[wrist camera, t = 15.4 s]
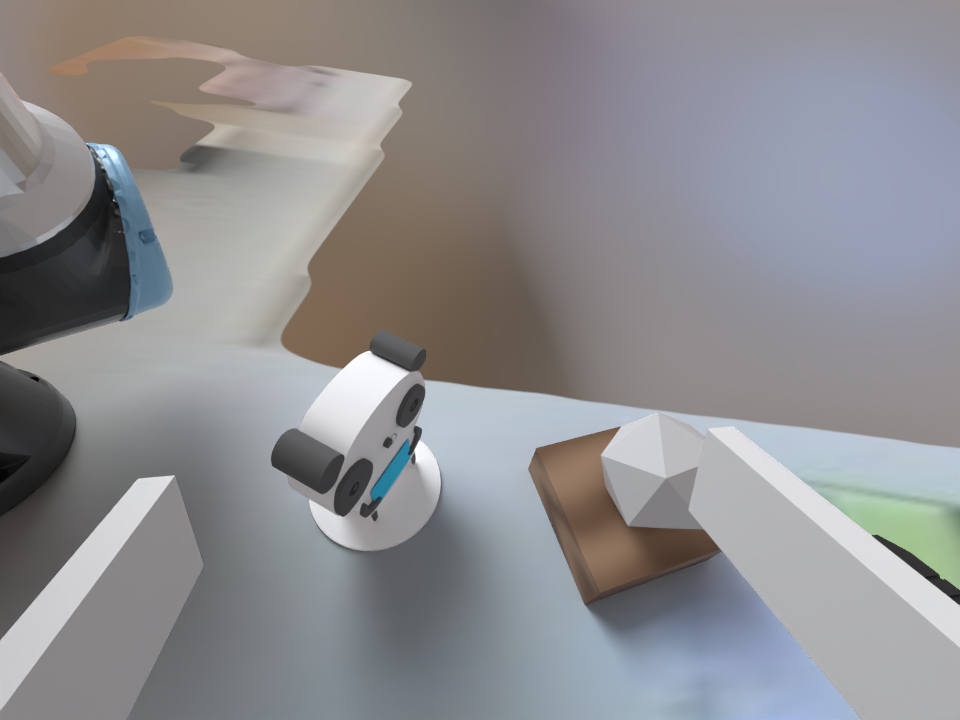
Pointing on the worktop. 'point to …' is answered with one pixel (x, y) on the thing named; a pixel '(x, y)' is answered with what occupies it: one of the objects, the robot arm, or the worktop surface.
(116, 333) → the worktop surface
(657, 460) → the die
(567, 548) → the plinth
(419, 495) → the panda figurine
